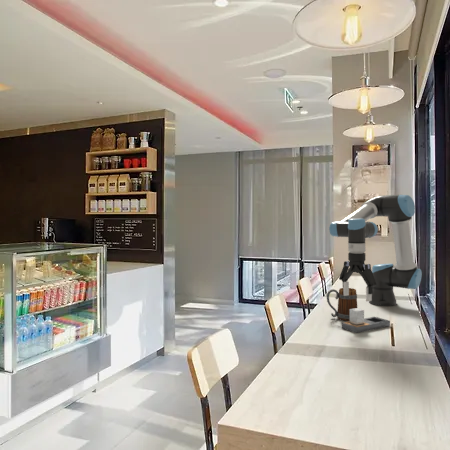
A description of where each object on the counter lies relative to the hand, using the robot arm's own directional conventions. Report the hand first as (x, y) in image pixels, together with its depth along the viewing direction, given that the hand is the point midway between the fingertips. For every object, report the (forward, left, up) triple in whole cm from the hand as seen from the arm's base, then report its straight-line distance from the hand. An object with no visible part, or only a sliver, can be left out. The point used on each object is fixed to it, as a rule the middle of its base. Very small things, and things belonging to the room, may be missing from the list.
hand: (357, 298), depth 185 cm
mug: (-7, -16, -15) cm, 23 cm away
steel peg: (0, 0, -14) cm, 14 cm away
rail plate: (-6, 0, -14) cm, 15 cm away
